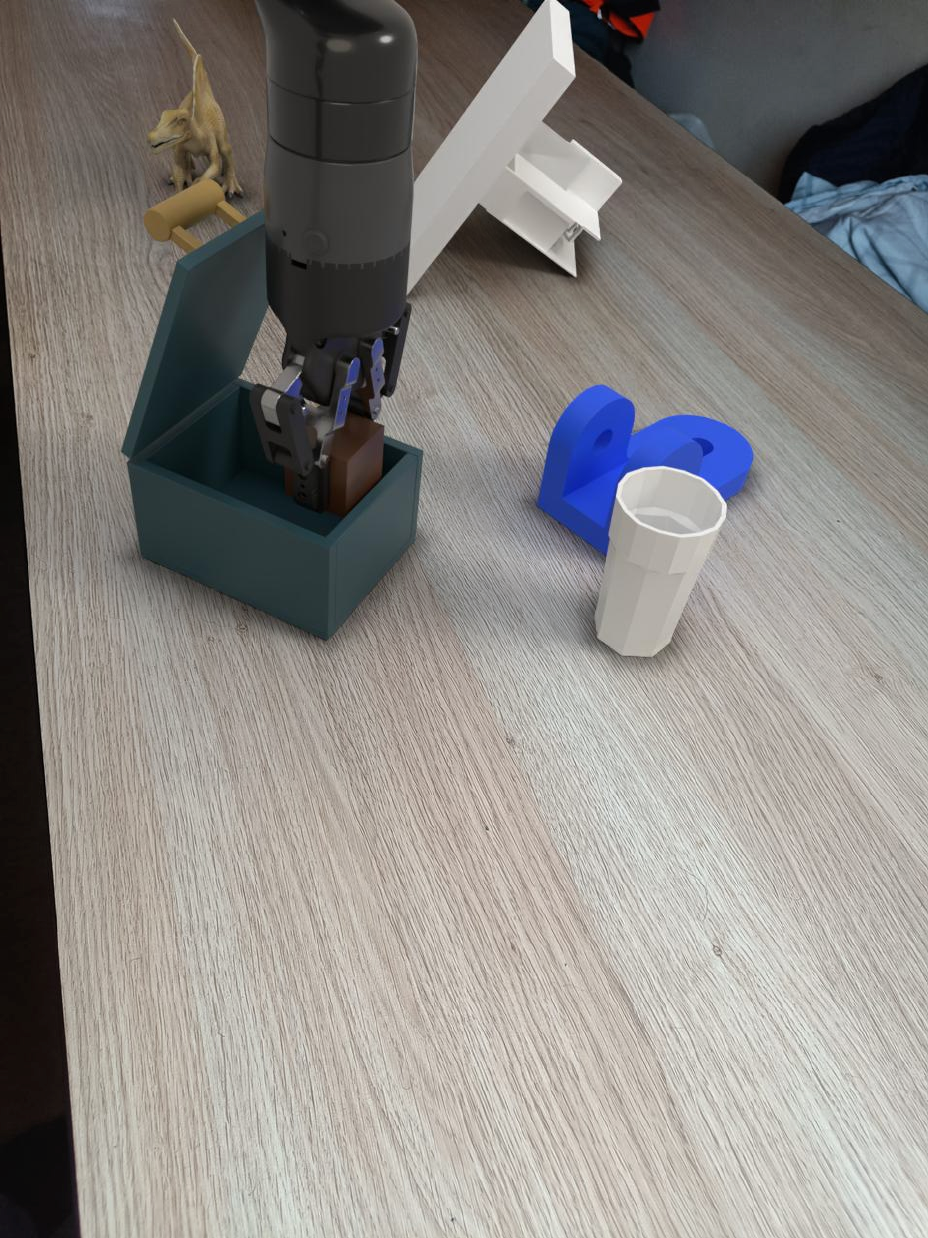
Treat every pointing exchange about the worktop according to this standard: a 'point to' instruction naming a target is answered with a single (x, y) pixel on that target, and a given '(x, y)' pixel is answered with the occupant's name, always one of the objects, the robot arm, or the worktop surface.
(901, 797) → the worktop surface
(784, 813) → the worktop surface
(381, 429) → the block
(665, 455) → the bracket
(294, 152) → the robot arm
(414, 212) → the white tilted panel stand
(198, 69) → the dinosaur figurine
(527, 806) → the worktop surface
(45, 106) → the worktop surface
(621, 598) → the cup
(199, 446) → the box
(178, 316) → the lid
